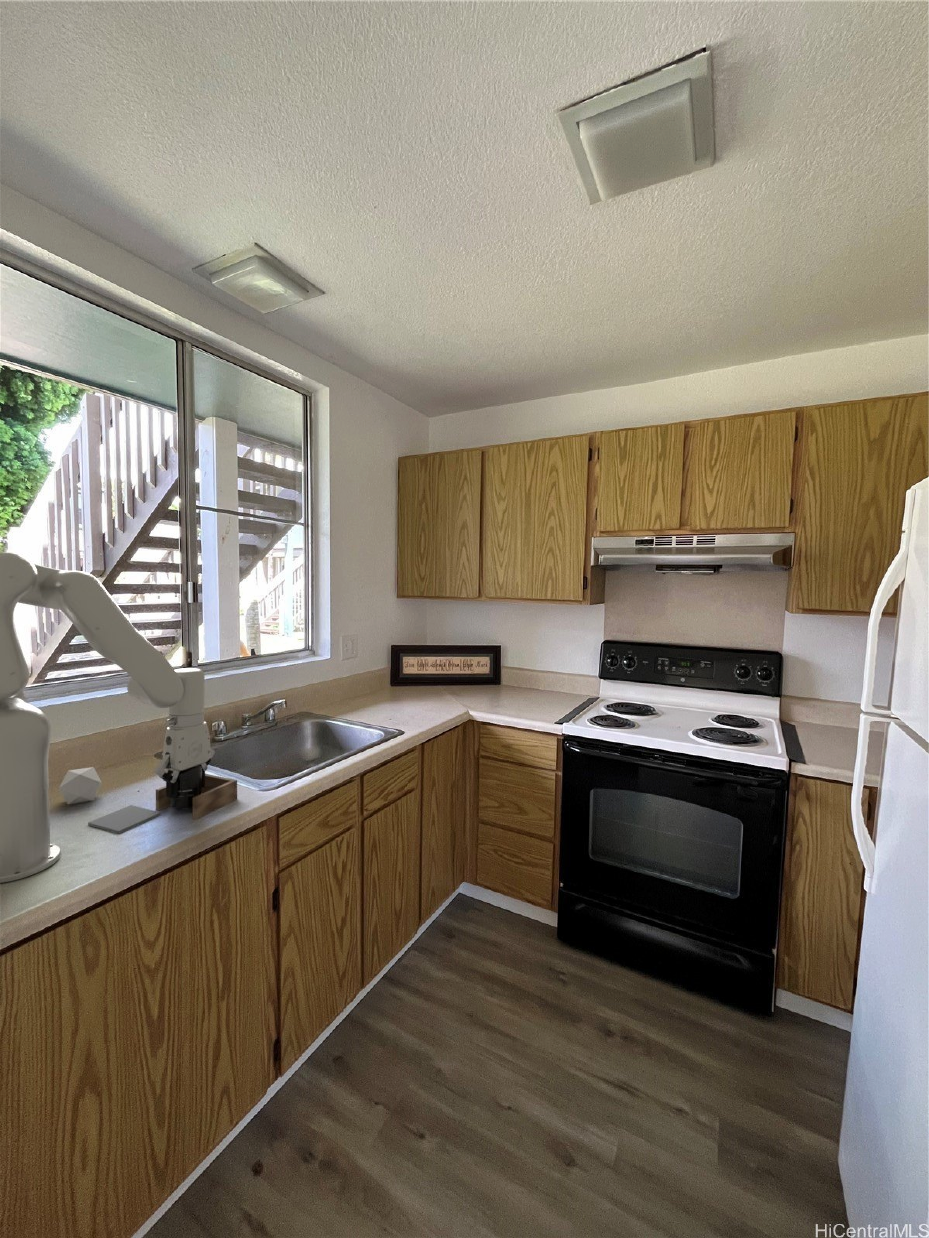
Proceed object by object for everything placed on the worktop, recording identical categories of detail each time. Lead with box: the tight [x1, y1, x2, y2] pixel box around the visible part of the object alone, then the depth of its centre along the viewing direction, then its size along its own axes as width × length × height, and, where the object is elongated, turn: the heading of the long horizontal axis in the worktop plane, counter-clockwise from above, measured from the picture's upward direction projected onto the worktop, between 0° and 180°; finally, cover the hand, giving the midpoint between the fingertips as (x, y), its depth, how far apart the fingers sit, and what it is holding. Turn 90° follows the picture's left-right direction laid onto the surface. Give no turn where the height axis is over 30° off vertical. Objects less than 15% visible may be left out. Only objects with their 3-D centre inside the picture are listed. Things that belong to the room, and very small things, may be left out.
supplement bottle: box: [169, 765, 202, 810], centre depth 123 cm, size 7×7×12 cm
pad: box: [87, 805, 162, 834], centre depth 117 cm, size 10×10×1 cm
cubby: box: [155, 773, 238, 820], centre depth 126 cm, size 12×13×5 cm
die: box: [58, 766, 103, 805], centre depth 126 cm, size 8×9×10 cm
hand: (186, 791), depth 123 cm, fingers closed on supplement bottle, 6 cm apart
